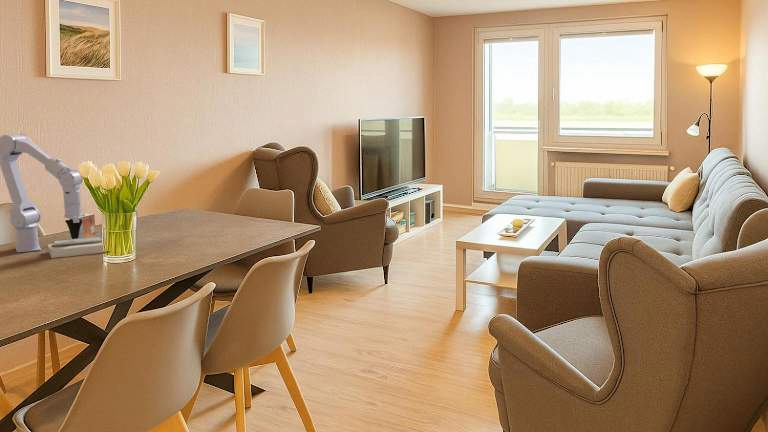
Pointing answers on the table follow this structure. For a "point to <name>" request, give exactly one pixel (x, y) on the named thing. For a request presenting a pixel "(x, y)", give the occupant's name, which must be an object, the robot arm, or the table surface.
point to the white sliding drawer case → (74, 249)
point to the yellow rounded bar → (80, 243)
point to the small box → (87, 227)
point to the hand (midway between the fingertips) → (74, 238)
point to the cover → (77, 241)
